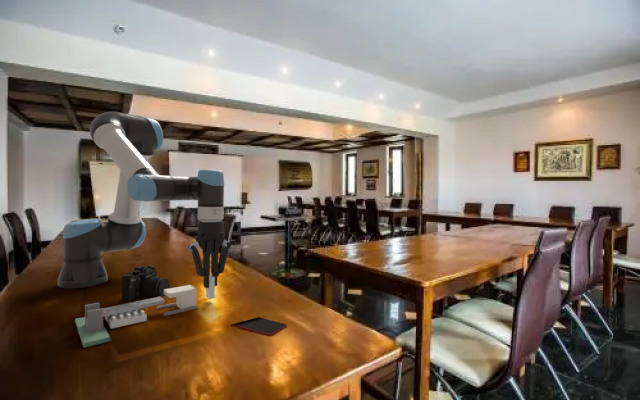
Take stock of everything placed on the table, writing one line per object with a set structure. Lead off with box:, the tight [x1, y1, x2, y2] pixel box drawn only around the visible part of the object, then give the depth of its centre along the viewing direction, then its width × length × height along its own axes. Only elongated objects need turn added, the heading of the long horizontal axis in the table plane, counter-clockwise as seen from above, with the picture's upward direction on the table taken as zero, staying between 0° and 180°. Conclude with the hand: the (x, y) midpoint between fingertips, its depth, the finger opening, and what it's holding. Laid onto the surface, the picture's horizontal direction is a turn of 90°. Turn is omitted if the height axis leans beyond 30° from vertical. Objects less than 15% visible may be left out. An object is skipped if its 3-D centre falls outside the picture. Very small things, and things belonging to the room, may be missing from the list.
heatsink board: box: [74, 302, 198, 348], centre depth 90 cm, size 18×28×6 cm, turn 131°
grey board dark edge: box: [102, 296, 166, 318], centre depth 88 cm, size 17×4×1 cm, turn 131°
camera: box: [121, 264, 171, 302], centre depth 108 cm, size 14×11×10 cm
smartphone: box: [230, 316, 288, 337], centre depth 88 cm, size 7×1×15 cm
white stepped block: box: [164, 284, 197, 309], centre depth 96 cm, size 5×8×6 cm, turn 131°
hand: (210, 297), depth 102 cm, fingers closed
